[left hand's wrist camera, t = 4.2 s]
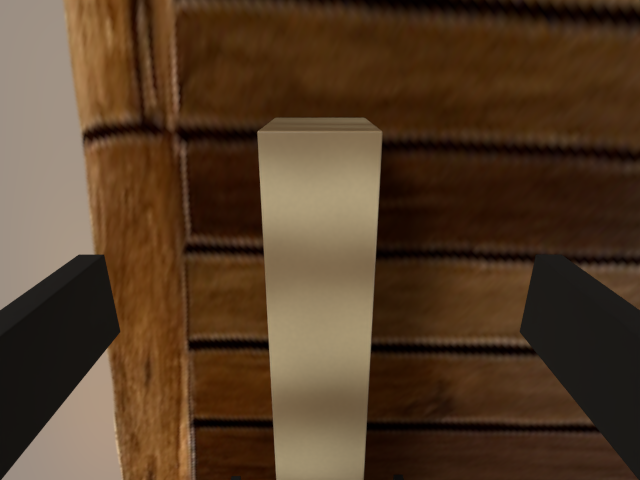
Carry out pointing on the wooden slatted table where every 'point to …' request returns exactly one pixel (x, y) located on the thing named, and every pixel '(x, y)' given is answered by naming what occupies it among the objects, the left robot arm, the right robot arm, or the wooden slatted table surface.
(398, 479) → the right robot arm
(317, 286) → the birch beam
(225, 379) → the wooden slatted table surface
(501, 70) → the wooden slatted table surface
